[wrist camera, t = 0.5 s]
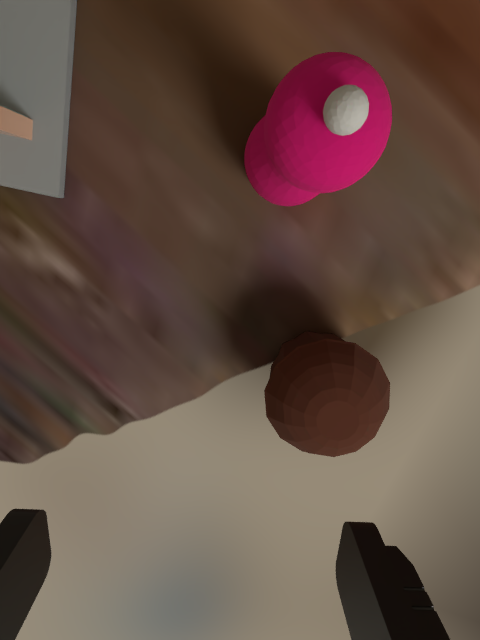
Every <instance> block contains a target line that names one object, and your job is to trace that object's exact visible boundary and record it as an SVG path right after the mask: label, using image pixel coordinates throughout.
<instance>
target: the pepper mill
mask: <svg viewBox="0 0 480 640" xmlns="http://www.w3.org/2000/svg"><path fill="white" fill-rule="evenodd" d="M391 122H392V106H391V101H390V97H389V93H388V91H387V88H386V86H385V83H384V81H383V80H382V78H381V77H380V75H379V73H378V72H377V71H376V70H375V69H374V68H373V67H372V66H371V65H370V64H368V63H367V62H365V61H364V60H362V59H361V58H359V57H357V56H354V55H351V54H348V53H342V52H327V53H322V54H318V55H315V56H313V57H311V58H309V59H306V60H304V61H302V62H301V63H299V64H298V65H297V66H295V67H294V68H293V69H292V70H291V71H290V72H289V73H288V74H287V75H286V76H285V77H284V78H283V79H282V81H281V82H280V83H279V84H278V86H277V88H276V90H275V91H274V93H273V95H272V97H271V99H270V101H269V104H268V108H267V112H266V115H265V116H264V117H263V118H262V119H261V120H260V121H259V122H258V123H257V124H256V126H255V127H254V129H253V130H252V132H251V133H250V136H249V138H248V140H247V144H246V147H245V154H244V161H245V169H246V174H247V176H248V179H249V181H250V183H251V185H252V187H253V188H254V189H255V190H256V192H257V193H258V194H259V195H260V196H262V197H263V198H264V199H265V200H267V201H269V202H271V203H274V204H277V205H281V206H295V205H300V204H302V203H305V202H307V201H309V200H311V199H313V198H314V197H315V196H317V195H318V194H319V193H328V192H334V191H338V190H341V189H344V188H346V187H348V186H350V185H352V184H353V183H355V182H356V181H358V180H359V179H361V178H362V177H363V176H364V175H366V174H367V173H368V172H369V170H370V169H371V168H372V167H373V166H374V165H375V163H376V162H377V161H378V159H379V158H380V156H381V154H382V153H383V151H384V149H385V147H386V144H387V140H388V137H389V134H390V129H391Z"/></svg>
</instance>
